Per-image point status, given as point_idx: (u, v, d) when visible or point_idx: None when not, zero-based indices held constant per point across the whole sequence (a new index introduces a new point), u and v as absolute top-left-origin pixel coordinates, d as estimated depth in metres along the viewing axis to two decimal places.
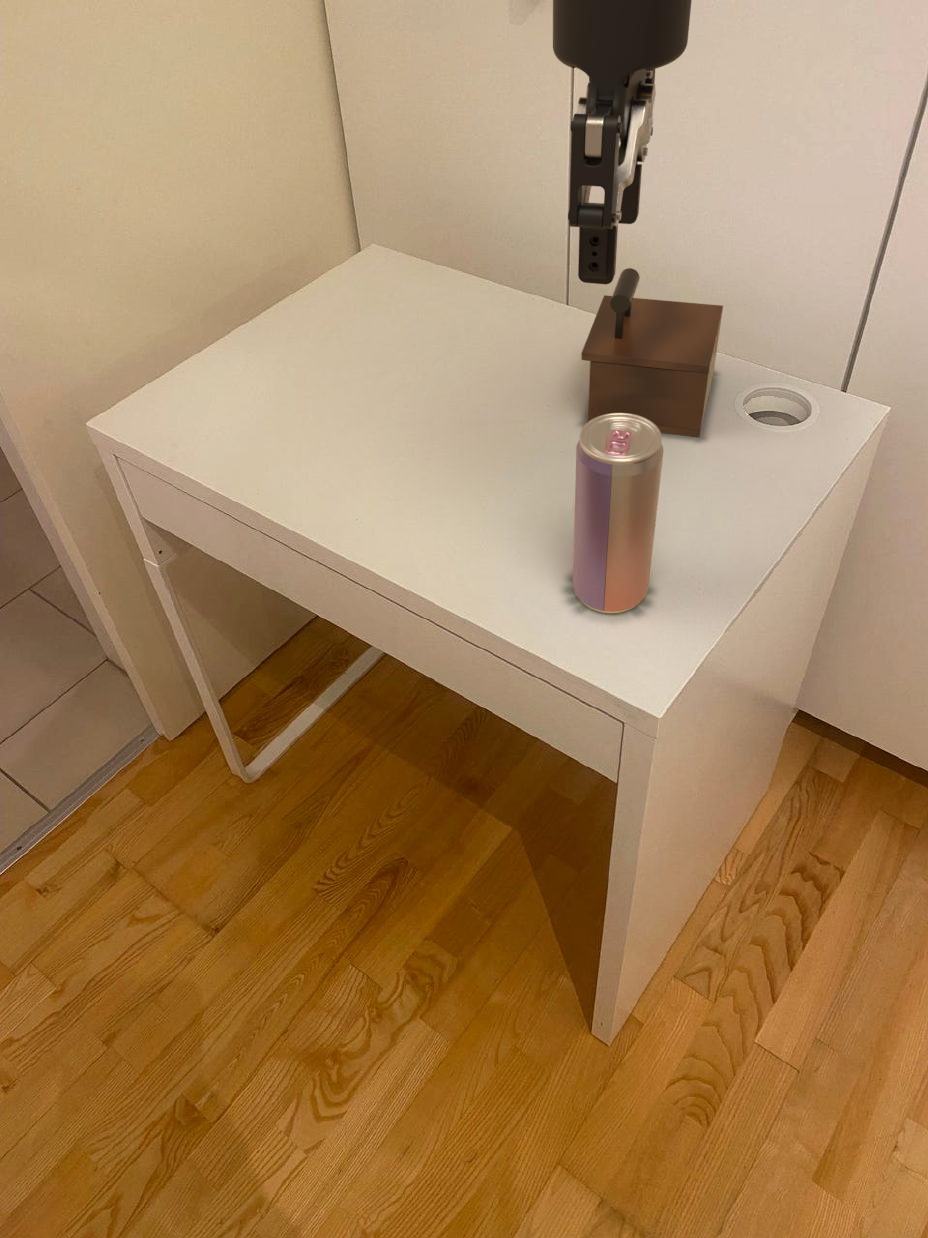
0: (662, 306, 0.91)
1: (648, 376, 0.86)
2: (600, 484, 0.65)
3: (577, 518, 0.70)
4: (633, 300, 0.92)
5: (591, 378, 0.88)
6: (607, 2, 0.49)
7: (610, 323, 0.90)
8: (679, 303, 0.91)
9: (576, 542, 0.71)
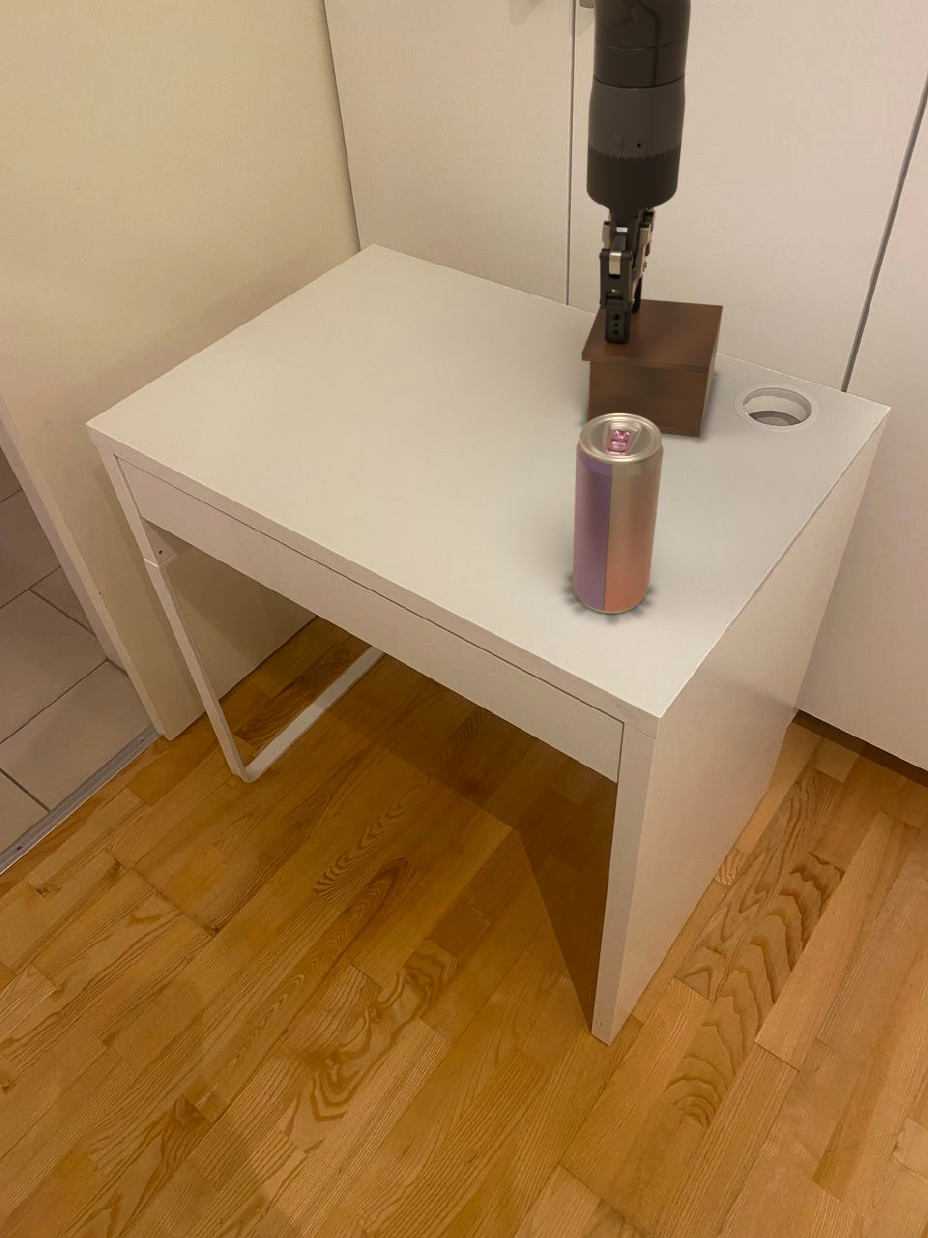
0: (662, 306, 0.91)
1: (648, 376, 0.86)
2: (600, 484, 0.65)
3: (577, 518, 0.70)
4: None
5: (591, 378, 0.88)
6: (624, 168, 0.75)
7: None
8: (679, 303, 0.91)
9: (576, 542, 0.71)
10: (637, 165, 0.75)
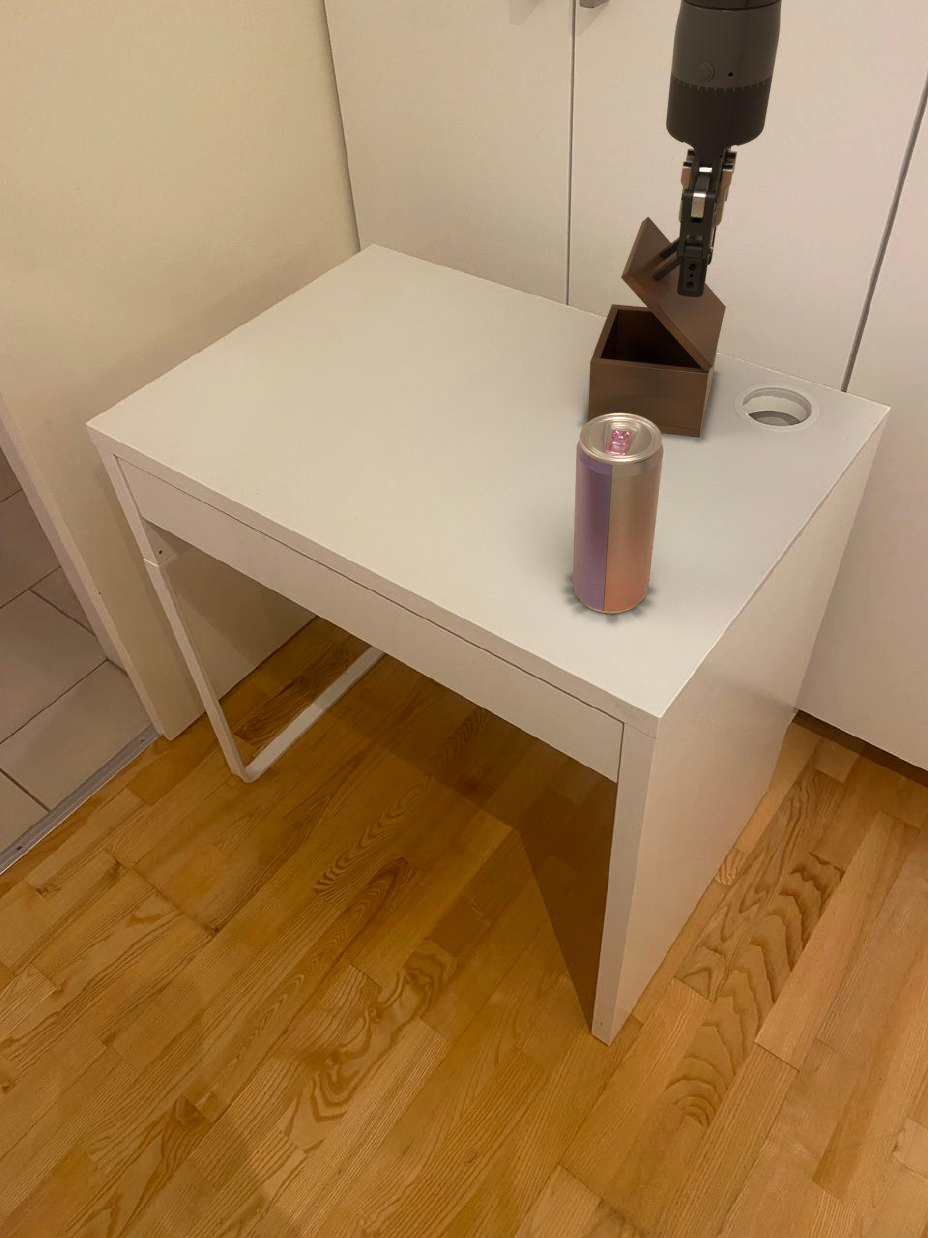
0: None
1: (648, 376, 0.86)
2: (600, 484, 0.65)
3: (577, 518, 0.70)
4: (668, 243, 0.87)
5: (591, 378, 0.88)
6: (712, 100, 0.70)
7: (650, 255, 0.84)
8: None
9: (576, 542, 0.71)
10: (727, 97, 0.70)
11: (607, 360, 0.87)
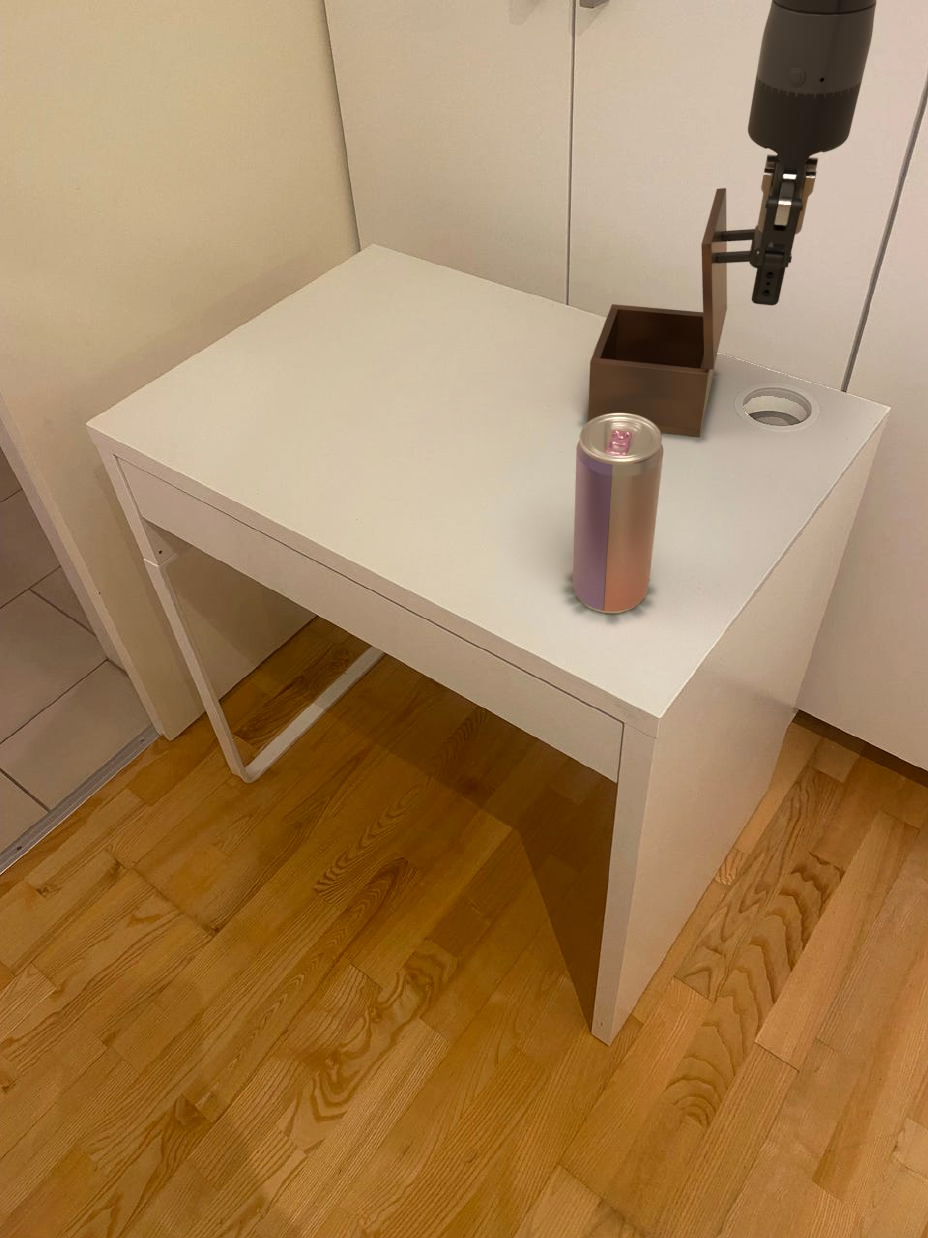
0: None
1: (648, 376, 0.86)
2: (600, 484, 0.65)
3: (577, 518, 0.70)
4: (725, 224, 0.84)
5: (591, 378, 0.88)
6: (801, 106, 0.69)
7: (719, 232, 0.81)
8: (726, 270, 0.88)
9: (576, 542, 0.71)
10: (817, 103, 0.68)
11: (607, 360, 0.87)
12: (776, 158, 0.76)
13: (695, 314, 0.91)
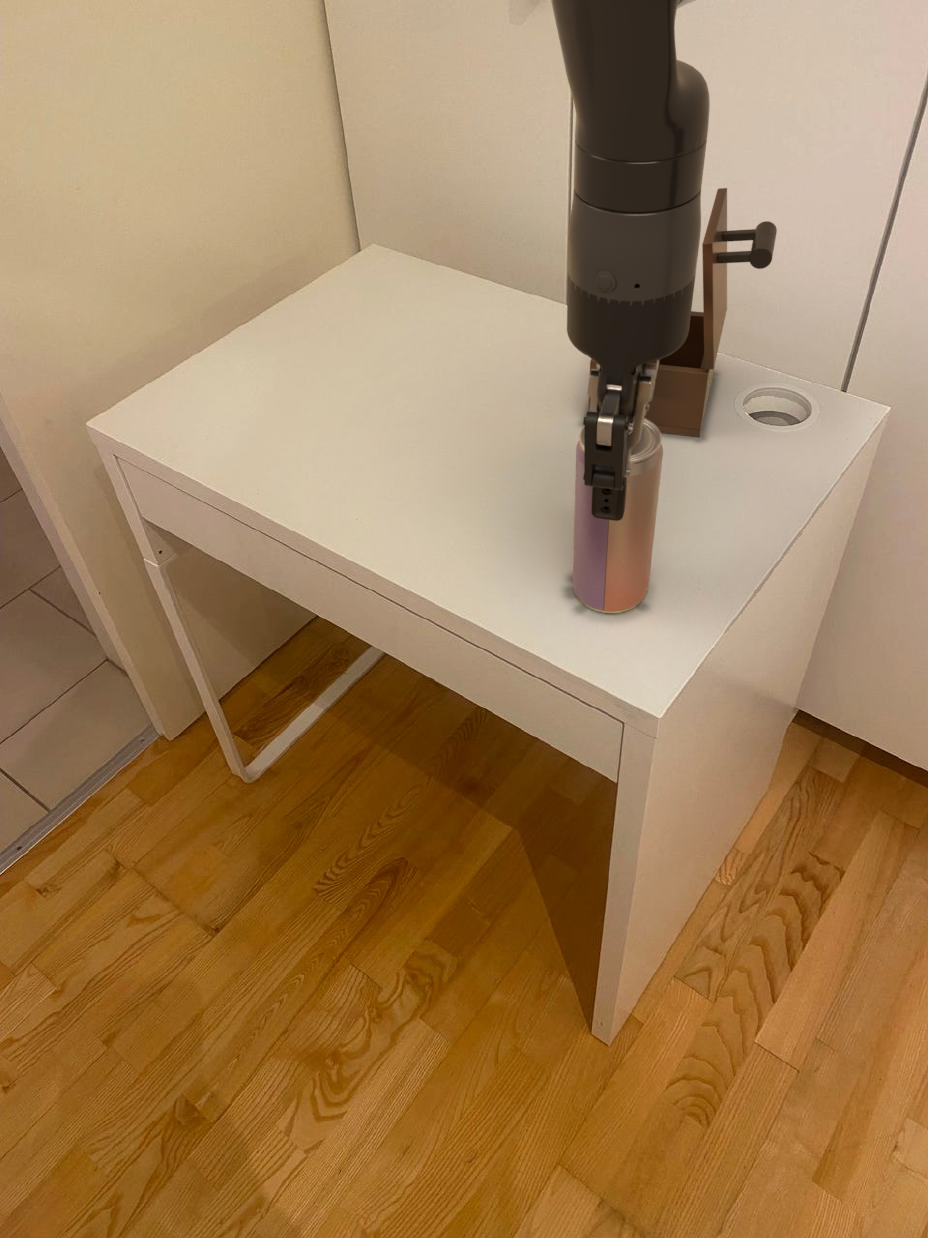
0: None
1: None
2: None
3: (577, 518, 0.70)
4: (726, 224, 0.84)
5: None
6: (617, 314, 0.55)
7: (720, 232, 0.81)
8: (726, 270, 0.88)
9: (576, 542, 0.71)
10: (635, 311, 0.55)
11: None
12: None
13: (695, 314, 0.91)
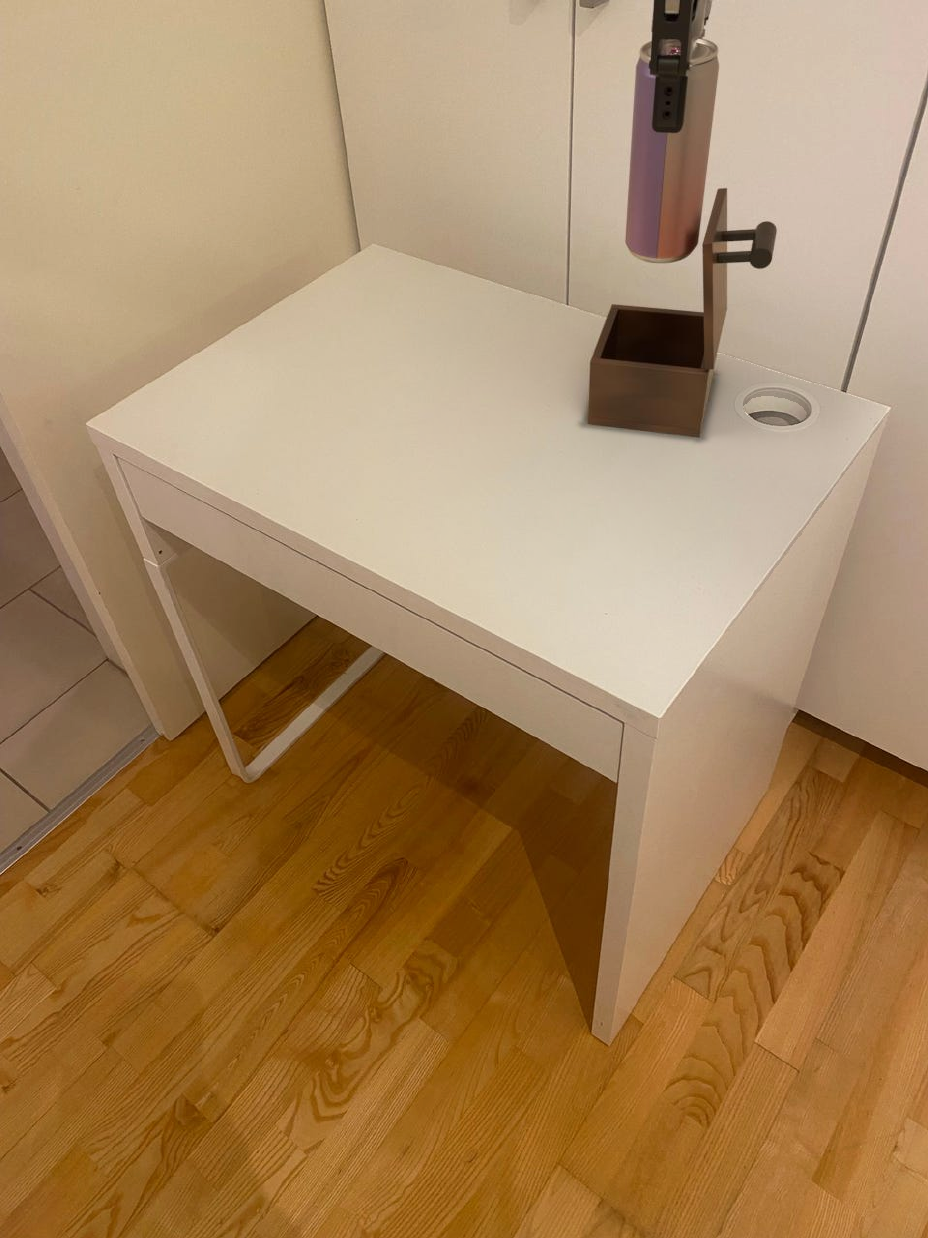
0: None
1: (648, 376, 0.86)
2: None
3: (634, 149, 0.73)
4: (726, 224, 0.84)
5: (591, 378, 0.88)
6: None
7: (720, 232, 0.81)
8: (726, 270, 0.88)
9: (632, 181, 0.75)
10: None
11: (607, 360, 0.87)
12: None
13: (695, 314, 0.91)
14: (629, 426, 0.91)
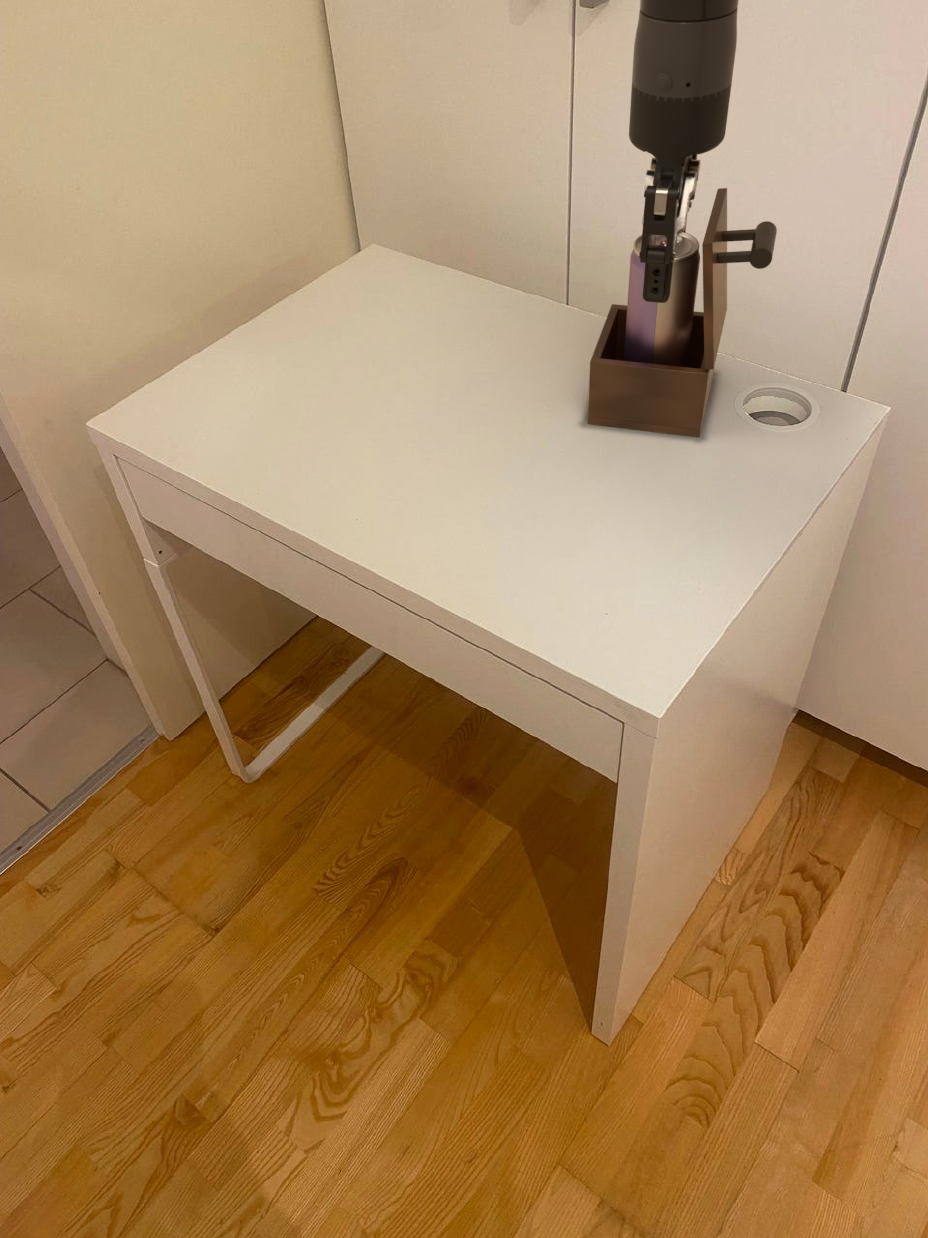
0: None
1: (648, 376, 0.86)
2: None
3: (629, 319, 0.87)
4: (726, 224, 0.84)
5: (591, 378, 0.88)
6: (671, 110, 0.71)
7: (720, 232, 0.81)
8: (726, 270, 0.88)
9: (627, 343, 0.88)
10: (685, 107, 0.71)
11: (607, 360, 0.87)
12: None
13: (695, 314, 0.91)
14: (629, 426, 0.91)
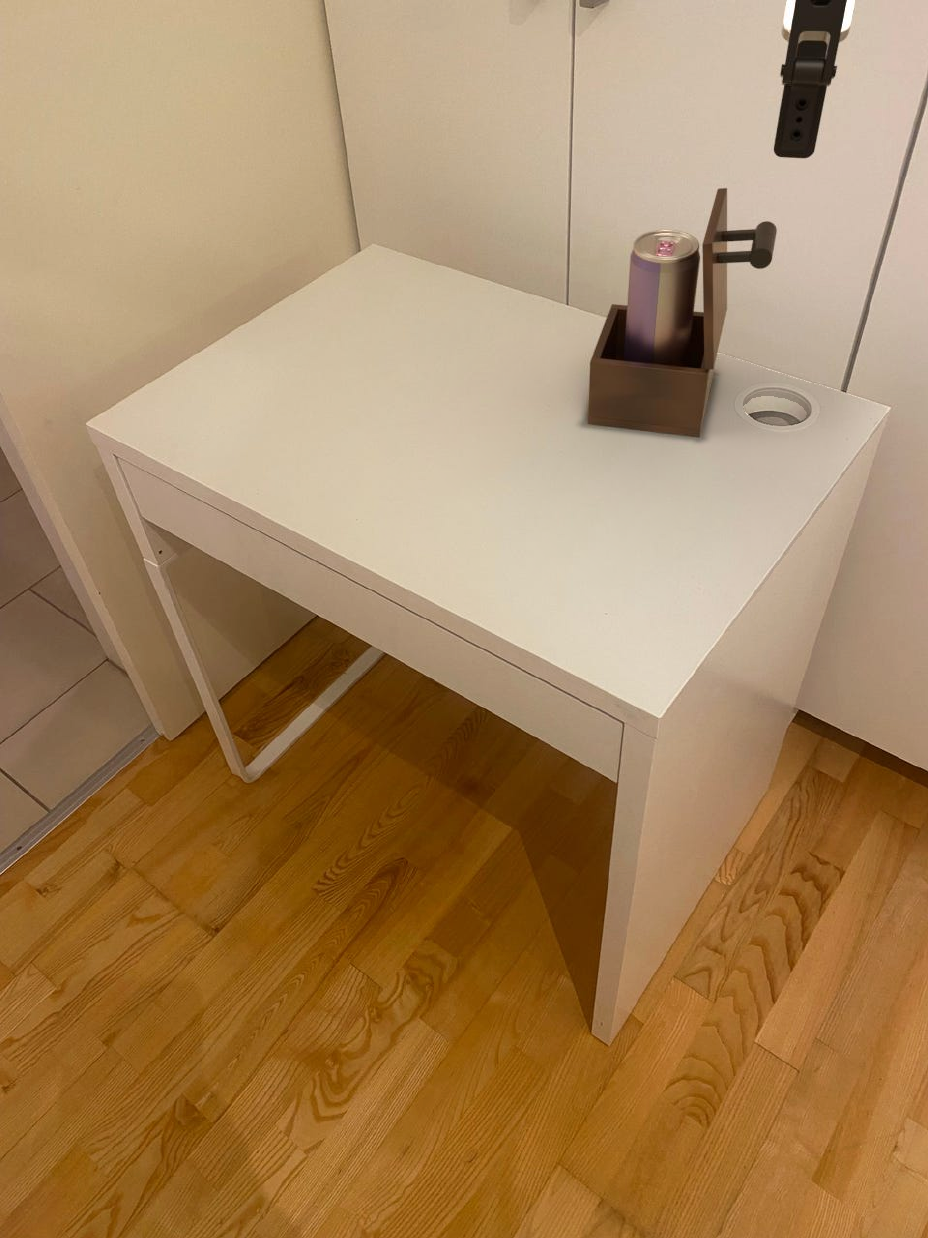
0: None
1: (648, 376, 0.86)
2: (650, 281, 0.82)
3: (629, 319, 0.87)
4: (726, 224, 0.84)
5: (591, 378, 0.88)
6: None
7: (720, 232, 0.81)
8: (726, 270, 0.88)
9: (627, 343, 0.88)
10: None
11: (607, 360, 0.87)
12: None
13: (695, 314, 0.91)
14: (629, 426, 0.91)
